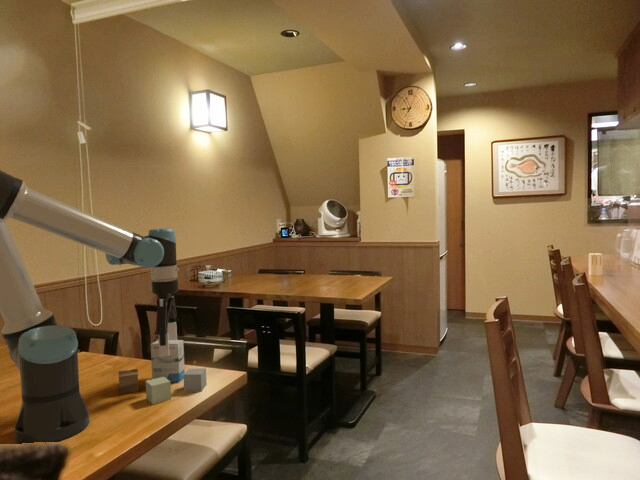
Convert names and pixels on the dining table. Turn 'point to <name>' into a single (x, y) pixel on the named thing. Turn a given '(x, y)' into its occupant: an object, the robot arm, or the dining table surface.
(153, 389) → the sage cube
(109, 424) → the dining table surface
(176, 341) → the ink box
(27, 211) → the robot arm
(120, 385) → the walnut cube
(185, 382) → the slate cube
